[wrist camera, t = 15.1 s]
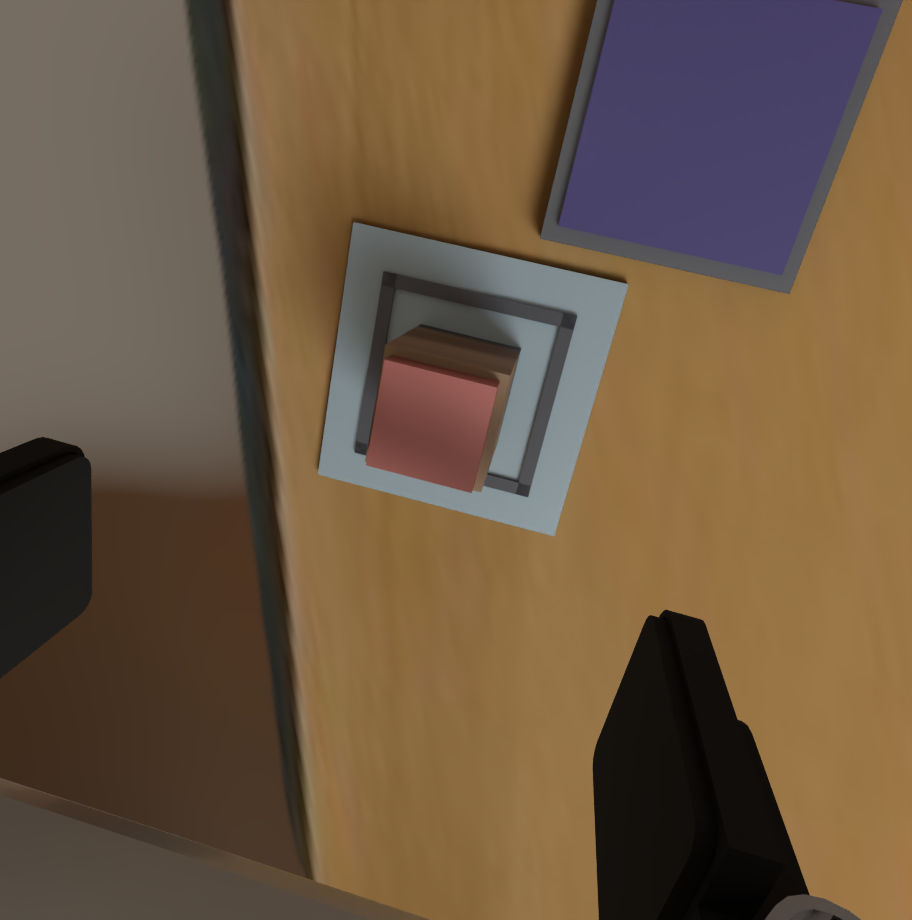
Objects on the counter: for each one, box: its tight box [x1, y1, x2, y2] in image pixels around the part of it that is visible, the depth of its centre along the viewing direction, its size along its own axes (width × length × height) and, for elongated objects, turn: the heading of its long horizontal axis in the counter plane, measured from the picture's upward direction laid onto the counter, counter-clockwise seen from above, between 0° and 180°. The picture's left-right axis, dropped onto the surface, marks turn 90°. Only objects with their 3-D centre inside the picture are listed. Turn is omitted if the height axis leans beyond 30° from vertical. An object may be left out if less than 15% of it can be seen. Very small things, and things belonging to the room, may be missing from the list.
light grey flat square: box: [318, 222, 629, 536], centre depth 29 cm, size 12×12×1 cm
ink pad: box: [540, 0, 903, 294], centre depth 24 cm, size 10×10×1 cm
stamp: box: [365, 324, 521, 493], centre depth 26 cm, size 5×5×7 cm
